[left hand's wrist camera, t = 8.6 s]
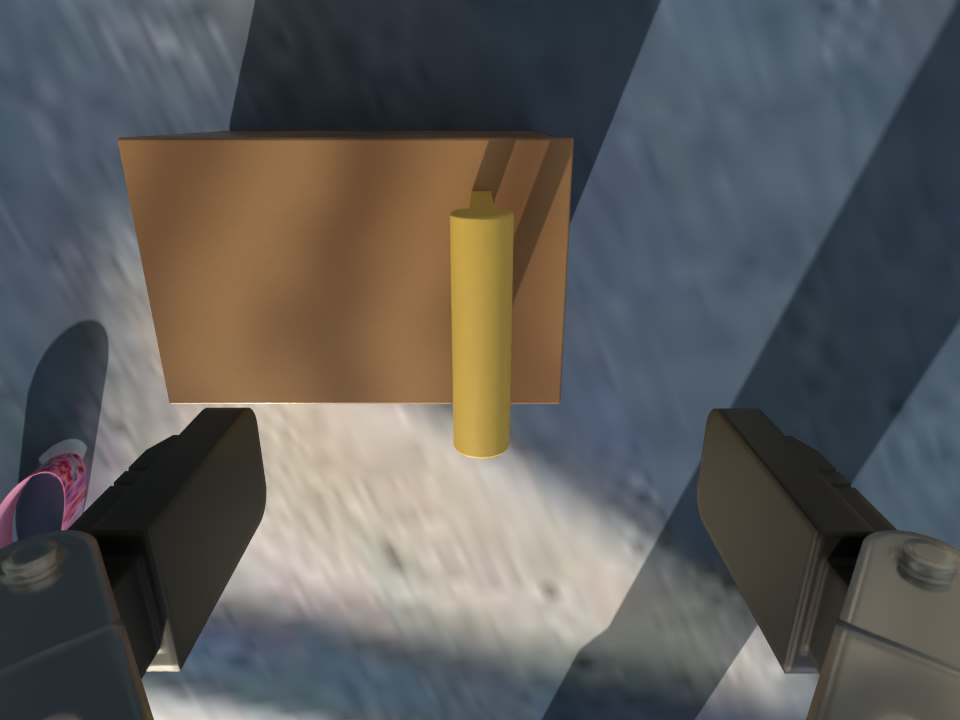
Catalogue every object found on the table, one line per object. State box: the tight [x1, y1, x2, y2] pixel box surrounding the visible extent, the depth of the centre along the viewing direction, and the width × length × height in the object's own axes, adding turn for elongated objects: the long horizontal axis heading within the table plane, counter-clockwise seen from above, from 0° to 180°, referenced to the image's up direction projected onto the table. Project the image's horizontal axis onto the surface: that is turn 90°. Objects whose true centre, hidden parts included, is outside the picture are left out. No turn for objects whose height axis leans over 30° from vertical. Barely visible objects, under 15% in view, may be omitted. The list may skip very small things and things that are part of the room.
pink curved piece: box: [0, 453, 87, 549], centre depth 37 cm, size 11×4×2 cm, turn 156°
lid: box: [118, 137, 574, 458], centre depth 20 cm, size 15×10×8 cm, turn 90°
